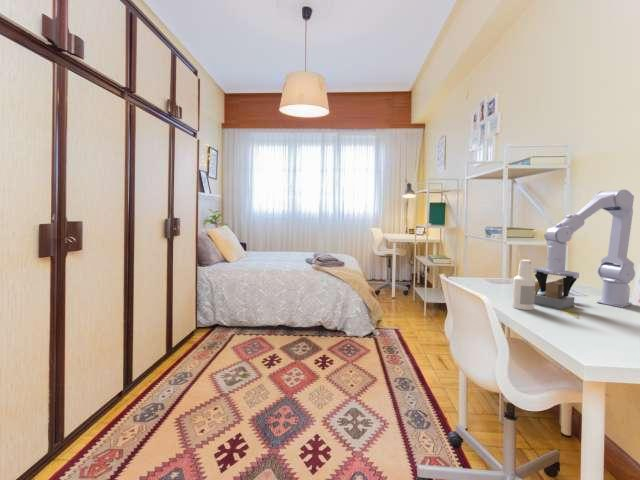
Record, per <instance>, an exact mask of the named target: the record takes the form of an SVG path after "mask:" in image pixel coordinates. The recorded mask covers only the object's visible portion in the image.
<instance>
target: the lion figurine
mask: <svg viewBox="0 0 640 480" xmlns="http://www.w3.org/2000/svg"><path fill="white" fill-rule="evenodd" d="M552 282H555V283H562V284H563V291H564V283H563V278H559V279H557V280H554V281H552ZM540 290H541V289H540V285H539V282H538V280H537V281H536V280H535V295H537V294H539V293H538V292H539V291H540ZM545 292H546V291H545ZM545 292H544V293H545Z"/></svg>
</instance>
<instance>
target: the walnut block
mask: <svg viewBox="0 0 640 480" xmlns="http://www.w3.org/2000/svg"><path fill="white" fill-rule="evenodd" d="M562 295H563V284H562V283H555V282H553V281H547V282H546V295H545V296H546V297H551V298H556V299H562Z"/></svg>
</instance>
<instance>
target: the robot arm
mask: <svg viewBox="0 0 640 480" xmlns="http://www.w3.org/2000/svg"><path fill="white" fill-rule="evenodd" d="M634 199H635V196H634V194H632V192H631V191H629V190H628V189H625V188H624V189H620V190H619V189H617V190H607V191H605V190H600V191H598V192H597V193H595V194H594V195H593V196H592V197H591V200H590V201H588V202H587V203H586V204H585V205H584V206H583V207H582V208H581V209H580V210H579V211H578V212H576V213H569V214H567V215H566V216H565V218H564V219H563V220H561V221H560V222H557V223H556V225H555V226H553V227H549V228H548V229H547V230H545V233H544V235H543V236H544V239H545V241H546V245H547V246H546V247H547V250H546V251H547V254H546V267H538V266H537V267H533V273H534V277H535V278H536V280H537V281H538V282H539V285H540V289H539V290H540V292H541V293H545V291H546V283H547V282H548V281H547V280H548V276H549V275H553V276H560V277H562V279H563V283H564V291H563V293H562V295H563V296H569V293H570V291H571V288H572V287H573V285H574V284H575V283H576V281H577V279H580V272H576V271H570V270H566V262H567V261H566V258H567V242H568V243H569V242H570V241H571V239H572V236H573V235H574V233H575V232H577V231H578V230H579V229H580V228H582V227H583V226H584V225H585V220H587V219H588V218H590V217H591V216H592V215H594V214H596V213H597V212H599V211H600V210H601V209H602V210H604V211H606V212H608V213H609V214H610V215H611V216H612V220H611V228H610V235H609V236H610V237H609V243H608V244H609V245H608V251H607V255H606V256H605V257H603V258H602V259H601V260H600V264H599V266H598V267H597V274H598V276H599V277H600V280H602V286H601V287H602V288H601V300H597V301H596V304H597V303H598V304H604V305H609V306H614V307H619V308H625V307H628V306H631V305H632V304H633V302H630V295H631V294H630V290H631V288H630V285H629V284H630V283H631V282H632V281H633V280H634V279H635V276H636V272H635V266H634V265H635V263H634V262H633V261H632V260H630V259H629V258H628V251H629V245H630V244H629V243H630V238H631V229H632V222H633V216H634V215H633V214H634V210H633V209H634V208H633V206H634Z"/></svg>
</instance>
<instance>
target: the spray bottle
mask: <svg viewBox="0 0 640 480" xmlns="http://www.w3.org/2000/svg"><path fill="white" fill-rule="evenodd" d="M531 262H532V261H531V260H530V259H520V260H519V264H518V272H517V275H516V276H514V277H513V282H512V283H513V284H512V285H513V286H512V302H511V303H512V305H511V306H512V307H513V308H514V309H517V310H522V311H532V310H534V309H535V304H534V296H535V282H536V279H535V278H534V277H532V265H531Z"/></svg>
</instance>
